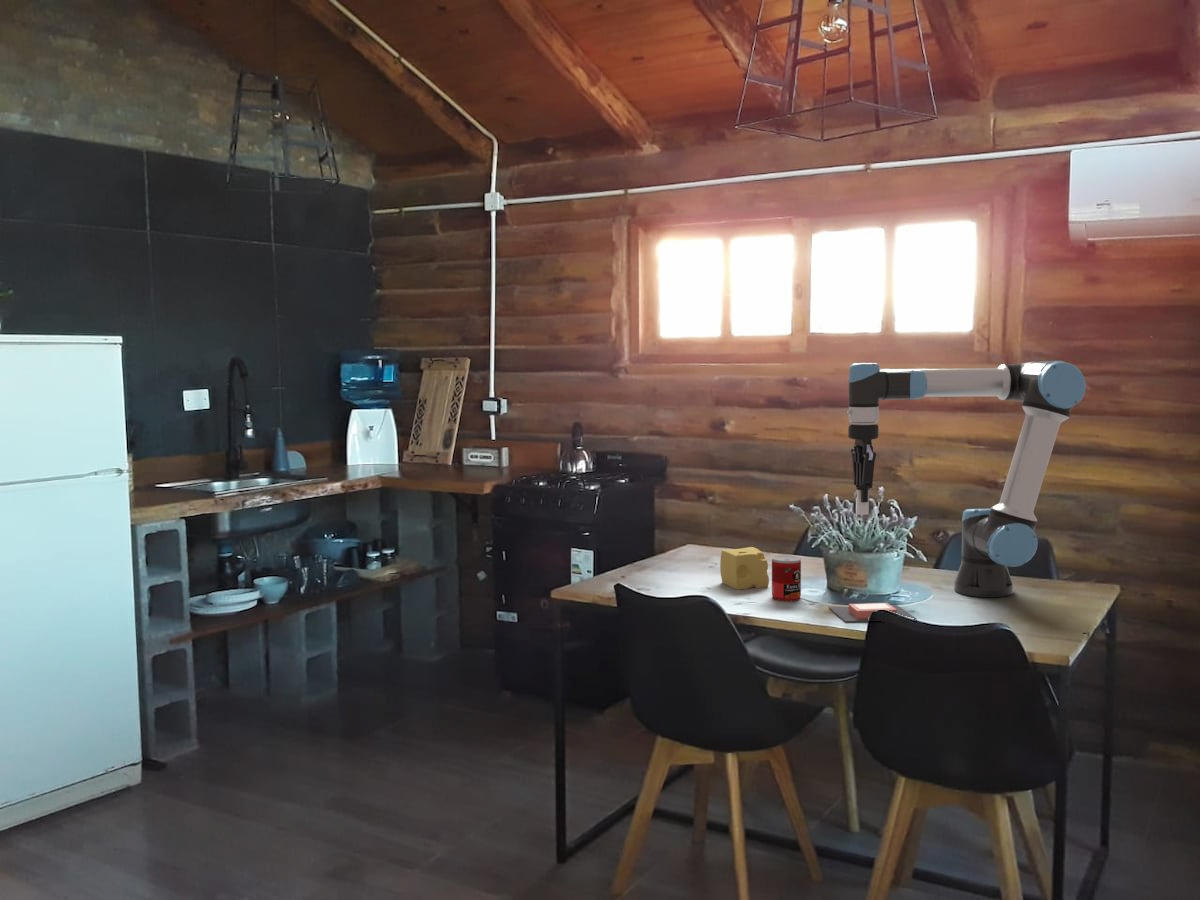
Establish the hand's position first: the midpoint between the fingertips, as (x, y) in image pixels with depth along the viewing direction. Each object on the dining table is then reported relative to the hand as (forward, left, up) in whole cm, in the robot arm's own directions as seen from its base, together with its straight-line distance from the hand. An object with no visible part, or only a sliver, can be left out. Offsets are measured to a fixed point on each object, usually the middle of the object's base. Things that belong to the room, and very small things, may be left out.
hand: (862, 514), depth 272 cm
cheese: (+25, -29, -25) cm, 46 cm away
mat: (0, +8, -24) cm, 26 cm away
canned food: (+17, -12, -25) cm, 32 cm away
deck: (0, +6, -23) cm, 24 cm away
